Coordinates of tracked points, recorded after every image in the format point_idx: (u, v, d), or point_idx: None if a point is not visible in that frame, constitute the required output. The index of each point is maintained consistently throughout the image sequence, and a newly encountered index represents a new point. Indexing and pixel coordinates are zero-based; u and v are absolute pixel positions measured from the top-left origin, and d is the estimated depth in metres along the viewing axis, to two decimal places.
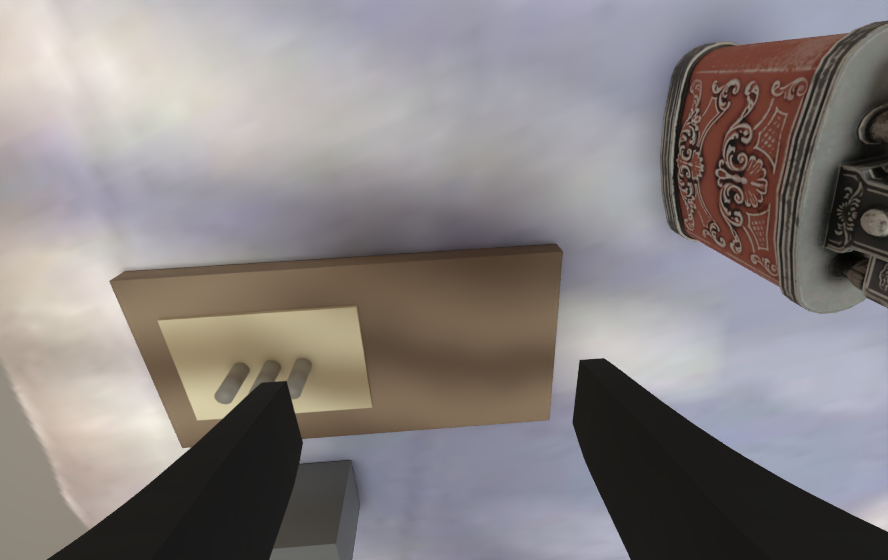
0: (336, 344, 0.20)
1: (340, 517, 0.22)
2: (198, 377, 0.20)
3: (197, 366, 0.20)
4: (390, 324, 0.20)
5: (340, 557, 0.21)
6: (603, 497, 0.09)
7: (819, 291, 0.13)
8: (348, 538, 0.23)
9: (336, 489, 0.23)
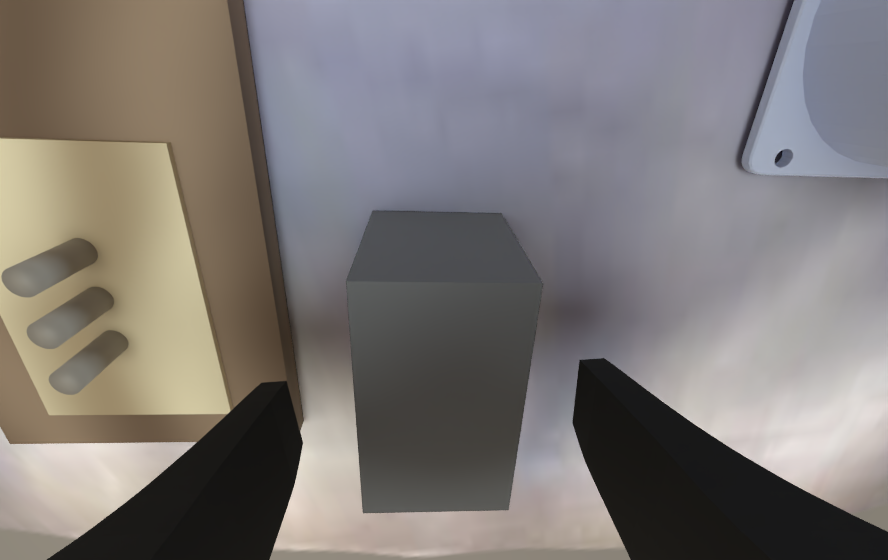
0: (17, 187, 0.11)
1: (358, 255, 0.10)
2: (143, 394, 0.14)
3: (121, 391, 0.14)
4: None
5: (412, 279, 0.09)
6: (604, 497, 0.09)
7: None
8: (458, 250, 0.10)
9: None
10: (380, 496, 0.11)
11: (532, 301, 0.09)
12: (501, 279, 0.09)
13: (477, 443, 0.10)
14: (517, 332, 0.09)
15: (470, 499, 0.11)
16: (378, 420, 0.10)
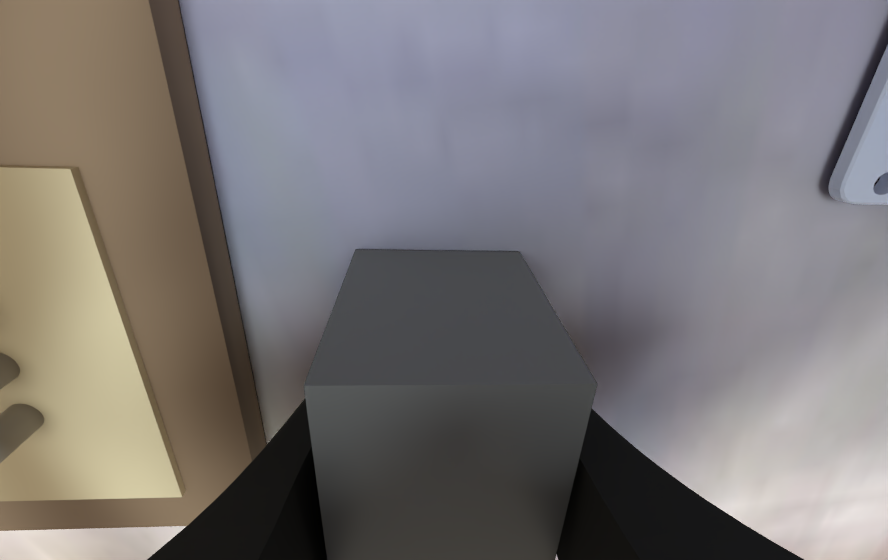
0: None
1: (328, 330, 0.07)
2: (69, 477, 0.11)
3: (40, 474, 0.11)
4: None
5: (403, 378, 0.06)
6: None
7: None
8: (468, 317, 0.07)
9: None
10: None
11: (580, 407, 0.06)
12: (534, 374, 0.06)
13: None
14: (556, 447, 0.06)
15: None
16: (358, 556, 0.07)
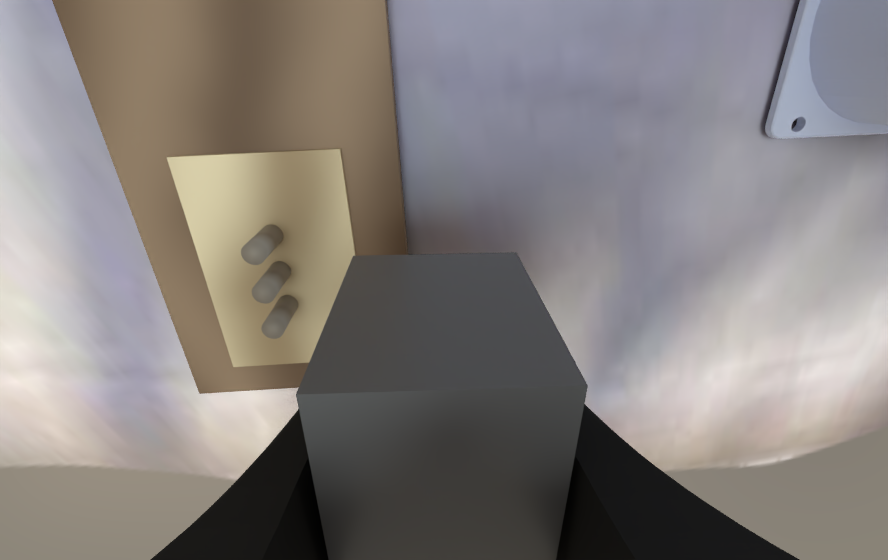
0: (232, 189, 0.15)
1: (322, 338, 0.07)
2: (305, 346, 0.18)
3: (289, 344, 0.18)
4: (190, 111, 0.14)
5: (394, 385, 0.06)
6: None
7: None
8: (461, 321, 0.07)
9: None
10: None
11: (571, 409, 0.06)
12: (525, 377, 0.06)
13: None
14: (550, 449, 0.06)
15: None
16: None
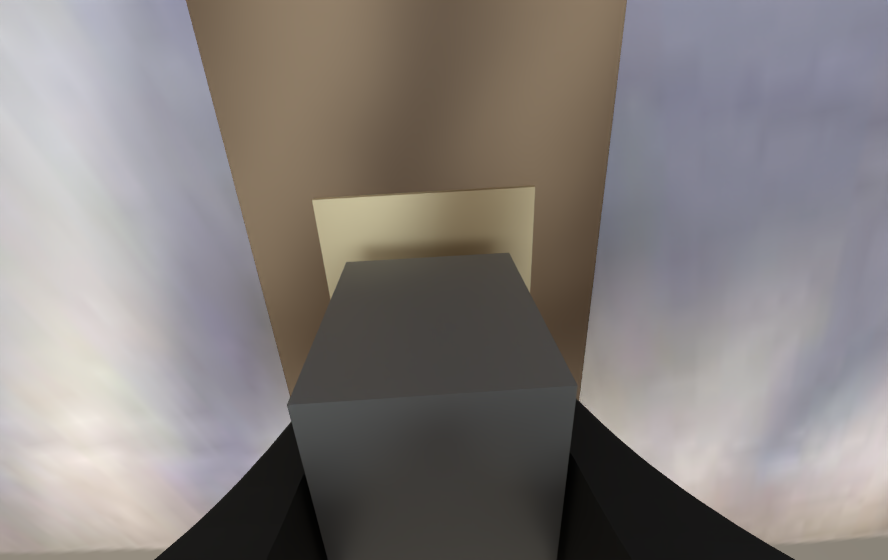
0: (390, 238, 0.12)
1: (314, 347, 0.07)
2: None
3: None
4: (348, 140, 0.11)
5: (385, 391, 0.06)
6: None
7: None
8: (452, 325, 0.07)
9: None
10: None
11: (563, 409, 0.06)
12: (515, 379, 0.06)
13: None
14: (543, 449, 0.06)
15: None
16: None
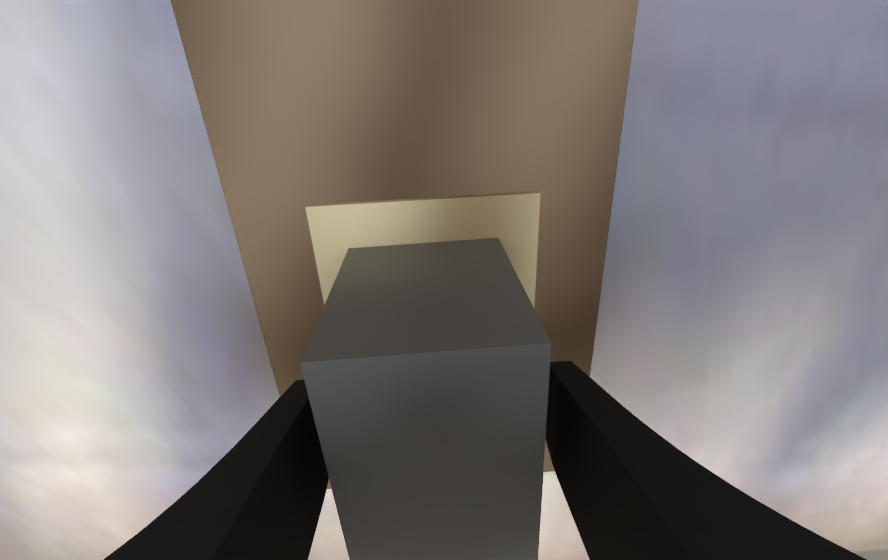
0: None
1: (321, 318, 0.08)
2: None
3: None
4: (343, 144, 0.10)
5: (384, 351, 0.07)
6: (568, 500, 0.09)
7: None
8: (444, 298, 0.08)
9: None
10: None
11: (540, 365, 0.07)
12: (498, 340, 0.07)
13: (489, 528, 0.09)
14: (524, 402, 0.07)
15: None
16: (366, 513, 0.08)
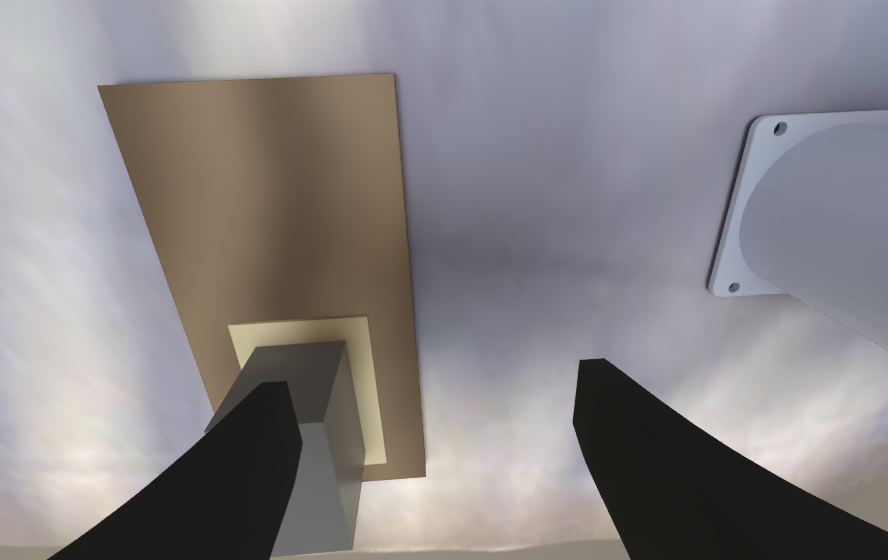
0: None
1: (222, 403, 0.15)
2: None
3: None
4: (248, 292, 0.18)
5: None
6: (603, 496, 0.09)
7: None
8: (289, 390, 0.16)
9: None
10: None
11: (320, 431, 0.14)
12: (301, 419, 0.14)
13: (315, 511, 0.16)
14: (317, 448, 0.15)
15: (323, 545, 0.17)
16: None
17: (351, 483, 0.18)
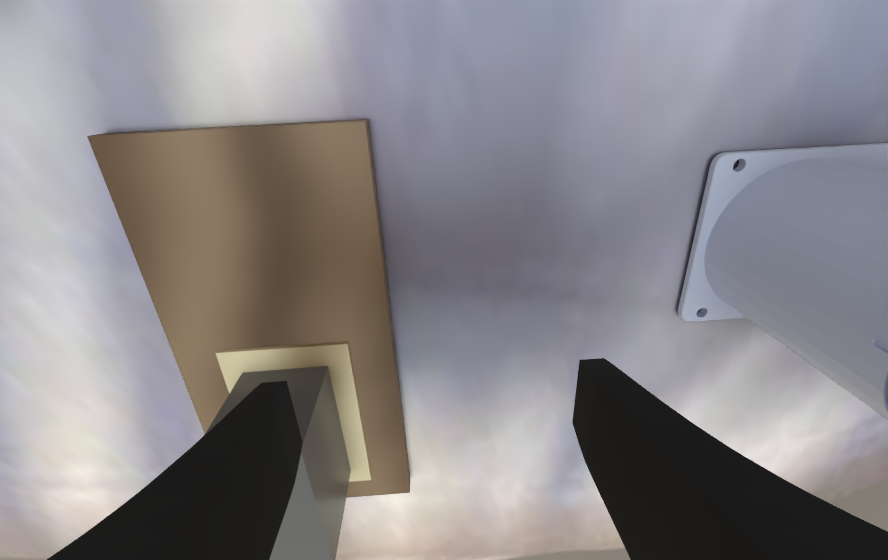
0: None
1: (208, 430, 0.16)
2: None
3: None
4: (234, 322, 0.19)
5: None
6: (603, 497, 0.09)
7: None
8: None
9: None
10: None
11: None
12: None
13: (297, 531, 0.17)
14: None
15: None
16: None
17: (333, 503, 0.19)
